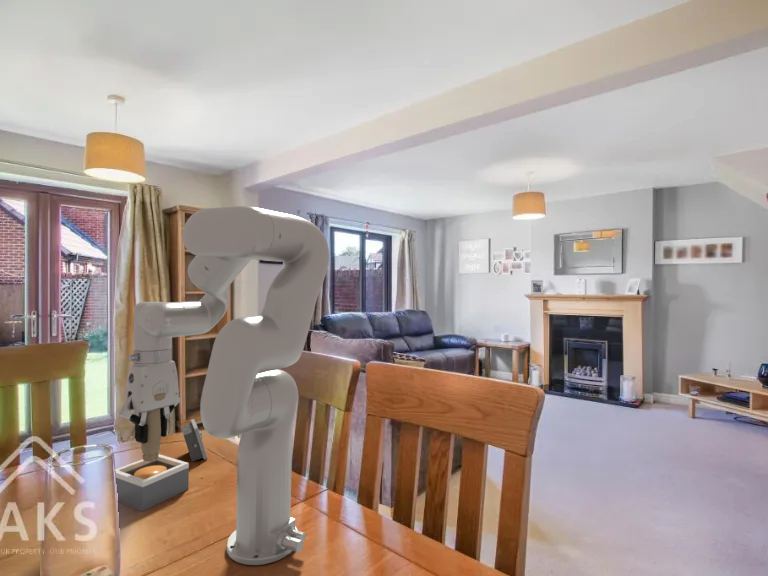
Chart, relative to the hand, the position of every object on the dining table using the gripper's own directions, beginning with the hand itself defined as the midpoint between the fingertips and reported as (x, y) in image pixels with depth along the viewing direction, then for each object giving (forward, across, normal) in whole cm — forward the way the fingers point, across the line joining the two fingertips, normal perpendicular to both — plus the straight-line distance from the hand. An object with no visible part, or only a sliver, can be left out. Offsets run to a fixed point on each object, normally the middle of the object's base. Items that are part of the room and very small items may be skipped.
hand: (151, 437), depth 95 cm
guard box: (+12, 0, 0) cm, 12 cm away
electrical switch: (+13, +19, +9) cm, 25 cm away
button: (+9, 0, 0) cm, 9 cm away
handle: (+5, 0, 0) cm, 5 cm away
